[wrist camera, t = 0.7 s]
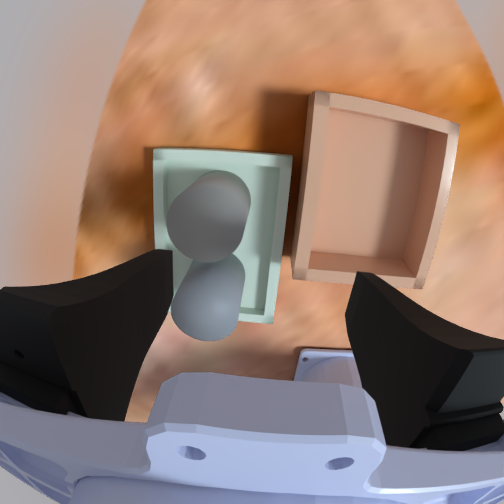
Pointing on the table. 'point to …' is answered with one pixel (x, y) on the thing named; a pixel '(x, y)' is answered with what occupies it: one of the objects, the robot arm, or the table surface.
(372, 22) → the table surface
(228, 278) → the pebble
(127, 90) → the table surface
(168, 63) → the table surface
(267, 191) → the parts tray
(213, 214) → the pebble
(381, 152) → the dish
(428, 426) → the robot arm
